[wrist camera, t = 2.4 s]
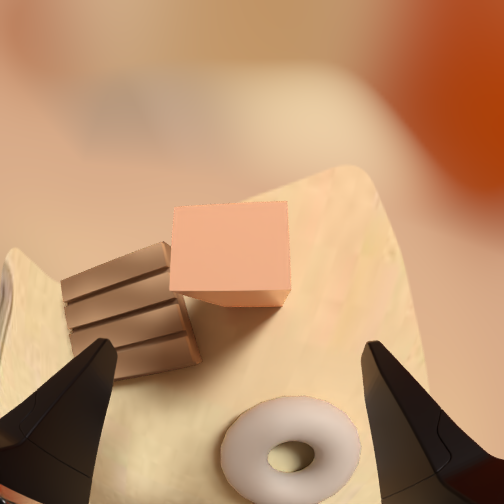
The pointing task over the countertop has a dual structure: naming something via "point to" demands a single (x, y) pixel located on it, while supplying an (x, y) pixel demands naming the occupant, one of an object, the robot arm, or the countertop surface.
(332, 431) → the donut
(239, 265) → the clay bar
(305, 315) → the countertop surface
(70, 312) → the stacked wooden slats
